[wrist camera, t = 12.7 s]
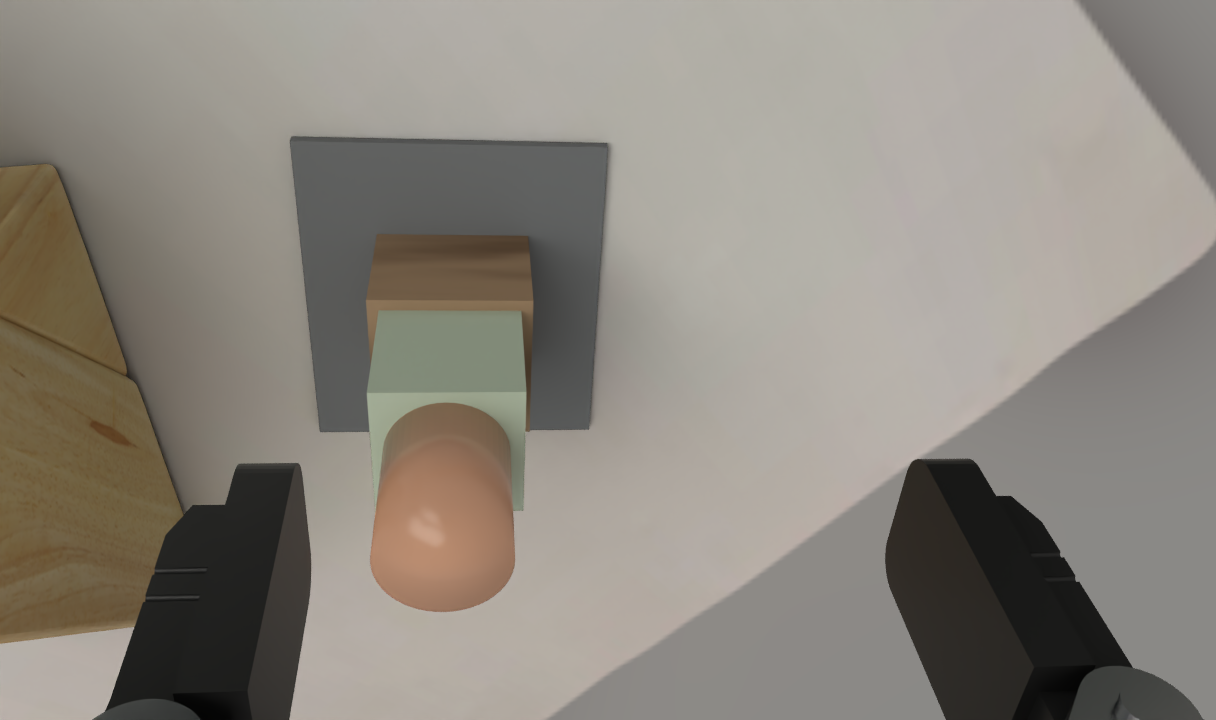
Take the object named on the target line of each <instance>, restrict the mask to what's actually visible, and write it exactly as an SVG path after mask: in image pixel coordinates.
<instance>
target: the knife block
mask: <svg viewBox="0 0 1216 720" xmlns="http://www.w3.org/2000/svg"><path fill="white" fill-rule="evenodd" d="M126 374H127V369H126V364H125V361H124V358H123V355H122V352H121V349H120V346H119V343H118V340H117V337H116V334H115V331H114V329H113V326H112V323H111V320H110V317H109V314H108V311H107V308H106V305H105V303H104V300H103V297H102V294H101V291H100V288H99V286H98V283H97V280H96V277H95V274H94V271H93V268H92V266H91V263H90V260H89V257H88V254H87V251H86V249H85V246H84V243H83V240H82V237H81V235H80V232H79V229H78V226H77V224H76V221H75V218H74V215H73V212H72V210H71V207H70V204H69V201H68V199H67V196H66V193H65V190H64V188H63V185H62V183H61V180H60V178H59V176H58V173H57V171H56V169H55V168H54V167H53V166H52V165H48V164H38V165H26V166H14V167H2V168H0V644H2V643H10V642H18V641H26V640H34V639H42V638H49V637H57V636H65V635H73V634H81V633H89V632H97V631H106V630H113V629H121V628H128V627H135V624H136V621H137V618H138V615H139V612H140V609H141V606H142V604H143V602H145V599H146V596H145V595H146V592H147V589H148V586H149V583H150V580H151V577H152V575H154V572H155V569H154V568H155V565H156V562H157V559H158V556H159V553H160V550H161V547H162V544H163V541H164V538H165V535H166V534H167V533H168V532H169V531H170V529H171V528H172V527H173V526H174V525H175V524H176V523H177V522H178V521H179V520H180V519H181V518H182V517H183V516H184V515H183V512H182V509H181V507H180V504H179V501H178V498H177V496H176V493H175V490H174V487H173V484H172V482H171V479H170V476H169V473H168V470H167V468H166V465H165V462H164V459H163V456H162V453H161V451H160V448H159V445H158V442H157V439H156V437H155V434H154V431H153V428H152V425H151V422H150V420H149V417H148V414H147V411H146V408H145V405H144V403H143V400H142V398H141V395H140V392H139V390H138V387H137V385H136V384H135V383H134V381H132V380H131V379H129V378H127V377H126Z"/></svg>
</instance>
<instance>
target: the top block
mask: <svg viewBox="0 0 1216 720" xmlns="http://www.w3.org/2000/svg"><path fill="white" fill-rule="evenodd" d="M435 403H458V404H464V405H468V406H472V407H474V408H477V409H479V410H481V411H483V412H485V413H487V414H488V415H490V416H491V417H492V418H494V419H495V420H496V421H497V422H498V423H499V424H500V426H501V427H502V428H503V429H504V431H505V433H506V435H507V437H508V439H509V443H510V448H511V470H512V495H513V511H523V503H524V466H525V428H526V377H525V361H524V345H523V329H522V313H521V311H427V310H379V311H378V318H377V325H376V332H375V339H374V346H373V353H372V360H371V367H370V374H369V381H368V388H367V404H368V418H369V432H370V445H371V459H372V473H373V487H374V501H375V512H376V503H377V495H378V486H379V477H380V469H381V460H382V451H383V445H384V441H385V438H386V435H387V433H388V432H389V430H390V428H391V427H392V426H393V425H394V423H395V422H397V421H398V420H399V419H400V418H401V417H402V416H404V415H405V414H407V413H408V412H410V411H412V410H414V409H417V408H419V407H422V406H425V405H429V404H435Z"/></svg>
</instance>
